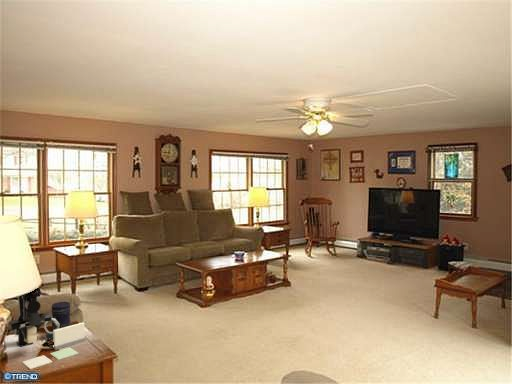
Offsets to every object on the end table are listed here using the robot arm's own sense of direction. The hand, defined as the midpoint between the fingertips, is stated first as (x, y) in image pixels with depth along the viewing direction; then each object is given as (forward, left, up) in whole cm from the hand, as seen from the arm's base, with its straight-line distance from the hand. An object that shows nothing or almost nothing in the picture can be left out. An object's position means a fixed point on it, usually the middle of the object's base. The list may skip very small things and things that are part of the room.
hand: (30, 337), depth 209 cm
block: (0, 0, -2) cm, 2 cm away
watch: (-14, +16, -9) cm, 23 cm away
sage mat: (+11, +12, -9) cm, 18 cm away
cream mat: (+11, -1, -9) cm, 14 cm away
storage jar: (-23, +25, -9) cm, 35 cm away
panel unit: (-3, +19, -9) cm, 21 cm away
